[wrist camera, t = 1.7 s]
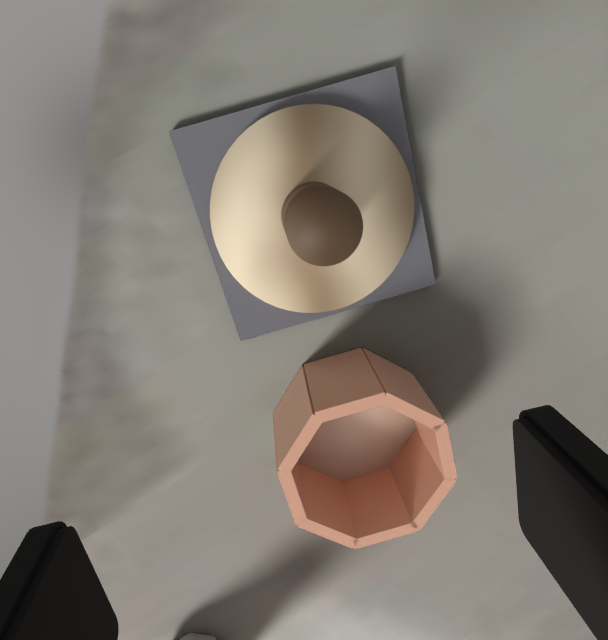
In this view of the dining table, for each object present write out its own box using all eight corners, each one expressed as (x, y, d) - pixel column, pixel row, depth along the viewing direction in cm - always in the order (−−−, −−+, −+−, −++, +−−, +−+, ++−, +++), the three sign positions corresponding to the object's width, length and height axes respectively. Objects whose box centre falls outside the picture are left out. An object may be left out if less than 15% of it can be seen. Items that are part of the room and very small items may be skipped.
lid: (388, 79, 26) (420, 62, 21) (426, 278, 29) (461, 306, 24) (181, 138, 26) (164, 136, 21) (246, 330, 29) (244, 368, 24)
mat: (392, 67, 26) (395, 65, 25) (432, 281, 30) (435, 284, 30) (170, 131, 26) (168, 131, 25) (241, 337, 30) (240, 340, 30)
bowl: (404, 334, 31) (437, 376, 25) (430, 456, 34) (465, 517, 29) (260, 376, 31) (261, 427, 25) (299, 494, 34) (308, 562, 29)
